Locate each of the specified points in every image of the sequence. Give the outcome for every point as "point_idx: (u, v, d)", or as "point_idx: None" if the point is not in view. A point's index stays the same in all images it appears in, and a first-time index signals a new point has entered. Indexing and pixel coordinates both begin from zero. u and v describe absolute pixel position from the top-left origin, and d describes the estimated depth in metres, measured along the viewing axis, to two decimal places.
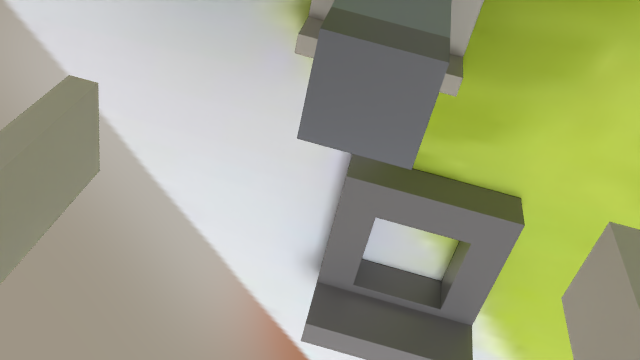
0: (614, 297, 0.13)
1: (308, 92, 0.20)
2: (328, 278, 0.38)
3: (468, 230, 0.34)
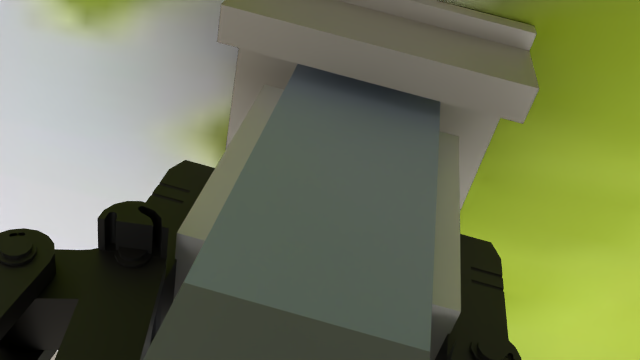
0: None
1: None
2: None
3: None
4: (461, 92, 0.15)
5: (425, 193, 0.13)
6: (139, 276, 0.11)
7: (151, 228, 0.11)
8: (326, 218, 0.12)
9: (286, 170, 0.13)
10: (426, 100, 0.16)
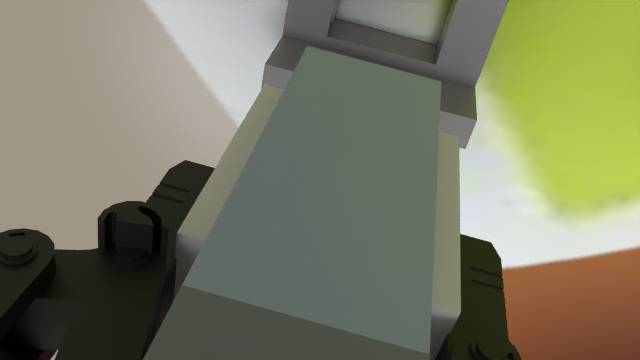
0: None
1: None
2: (296, 28, 0.31)
3: None
4: None
5: (425, 195, 0.13)
6: (139, 276, 0.11)
7: (151, 228, 0.11)
8: (325, 220, 0.12)
9: (285, 172, 0.13)
10: (426, 101, 0.16)
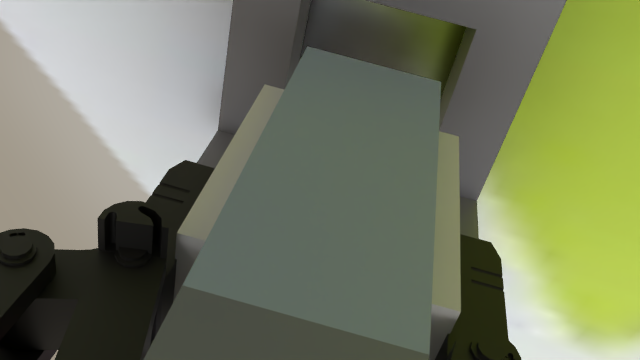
0: None
1: None
2: (235, 121, 0.23)
3: None
4: None
5: (424, 195, 0.13)
6: (139, 276, 0.11)
7: (151, 228, 0.11)
8: (324, 220, 0.12)
9: (285, 172, 0.13)
10: (426, 101, 0.16)
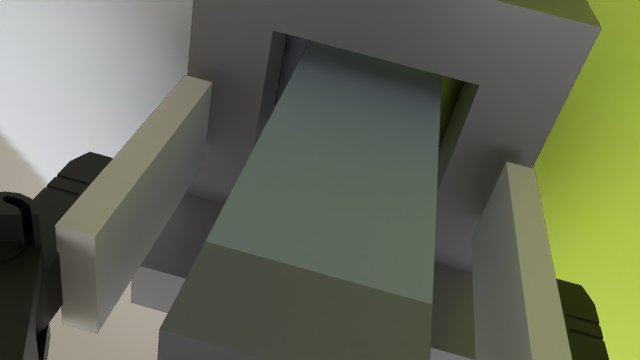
0: (502, 226, 0.15)
1: None
2: (198, 182, 0.19)
3: (473, 50, 0.15)
4: None
5: (427, 167, 0.14)
6: (14, 268, 0.10)
7: (20, 217, 0.10)
8: (334, 188, 0.12)
9: (296, 145, 0.13)
10: (427, 84, 0.17)
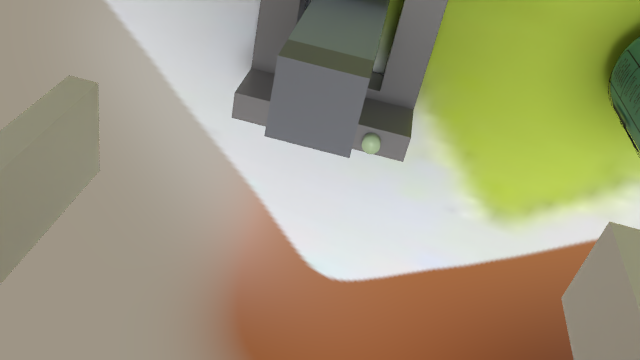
0: (614, 298, 0.13)
1: (271, 101, 0.27)
2: (262, 61, 0.36)
3: None
4: None
5: (377, 28, 0.31)
6: None
7: None
8: (336, 30, 0.29)
9: (319, 17, 0.30)
10: (382, 2, 0.34)
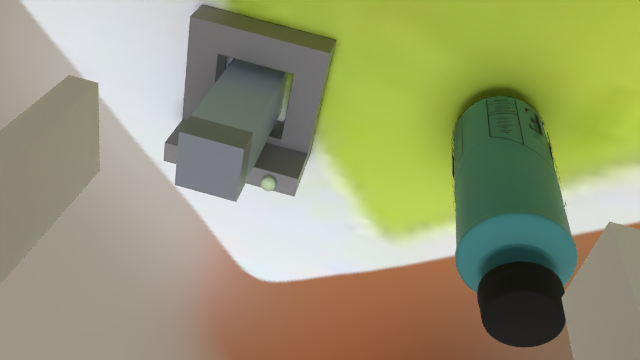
0: (614, 298, 0.13)
1: (177, 161, 0.37)
2: (190, 115, 0.47)
3: (289, 61, 0.43)
4: None
5: (266, 101, 0.41)
6: None
7: None
8: (232, 105, 0.40)
9: (222, 93, 0.41)
10: (279, 74, 0.44)
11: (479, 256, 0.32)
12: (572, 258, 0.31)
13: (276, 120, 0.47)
